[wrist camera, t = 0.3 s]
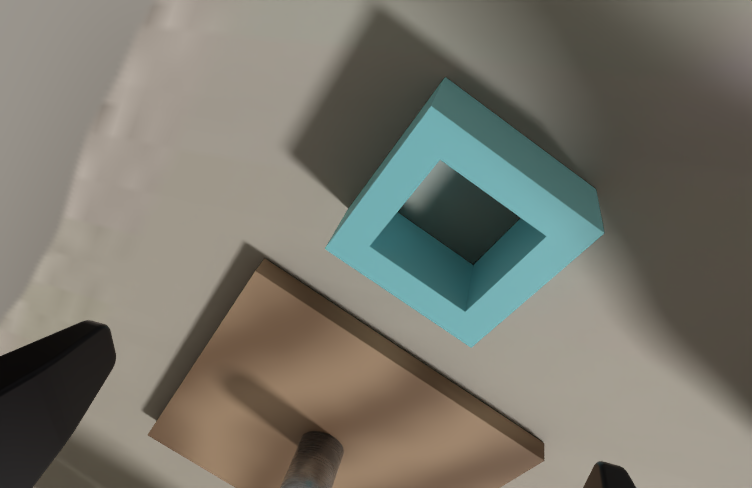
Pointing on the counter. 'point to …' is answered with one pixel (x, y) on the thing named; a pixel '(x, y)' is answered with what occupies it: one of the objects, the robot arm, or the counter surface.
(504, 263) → the ring
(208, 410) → the base plate
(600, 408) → the counter surface
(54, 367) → the robot arm
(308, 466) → the post
